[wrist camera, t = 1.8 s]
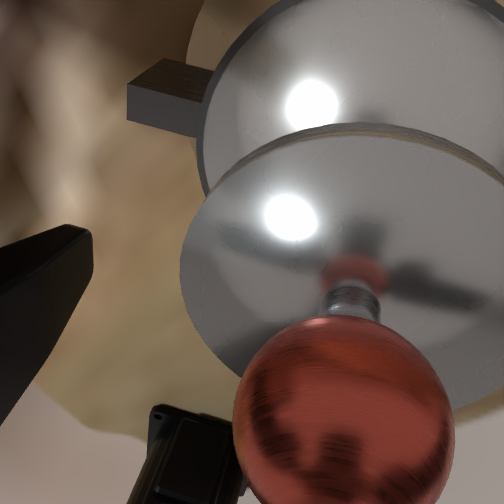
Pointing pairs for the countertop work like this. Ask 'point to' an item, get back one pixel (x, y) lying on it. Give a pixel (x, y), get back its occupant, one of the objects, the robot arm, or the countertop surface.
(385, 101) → the press pot
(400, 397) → the plunger
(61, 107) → the countertop surface
